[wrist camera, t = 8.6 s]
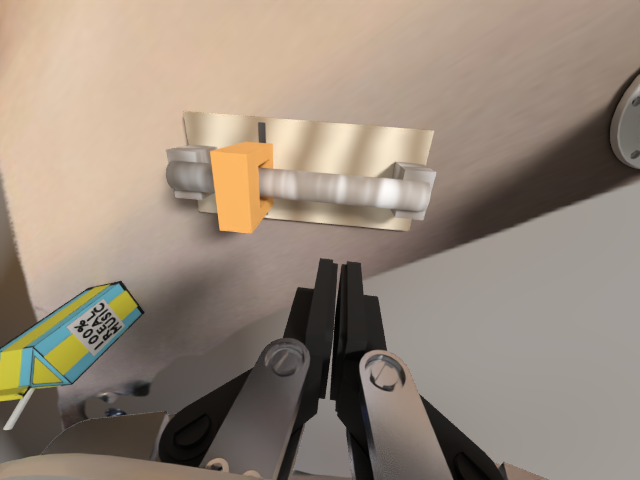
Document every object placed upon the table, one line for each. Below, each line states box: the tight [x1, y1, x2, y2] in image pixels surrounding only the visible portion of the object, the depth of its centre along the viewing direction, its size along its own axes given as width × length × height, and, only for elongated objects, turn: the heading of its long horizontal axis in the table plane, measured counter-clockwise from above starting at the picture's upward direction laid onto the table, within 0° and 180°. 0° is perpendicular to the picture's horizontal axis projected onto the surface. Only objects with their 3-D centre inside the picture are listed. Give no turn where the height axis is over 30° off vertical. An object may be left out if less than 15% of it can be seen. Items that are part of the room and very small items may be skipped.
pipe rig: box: [166, 111, 436, 231], centre depth 28 cm, size 28×12×8 cm, turn 86°
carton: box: [0, 281, 144, 430], centre depth 35 cm, size 7×8×18 cm
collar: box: [210, 142, 274, 233], centre depth 25 cm, size 3×7×8 cm, turn 176°
